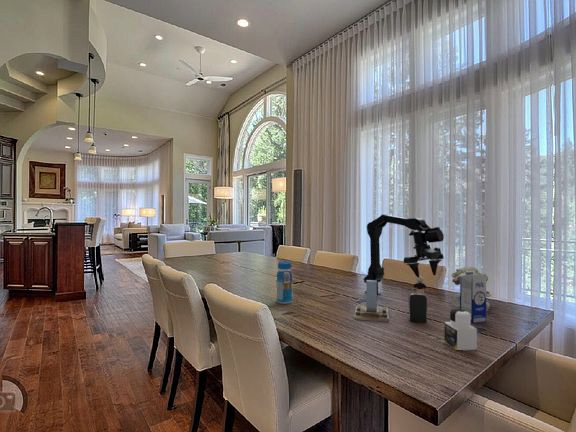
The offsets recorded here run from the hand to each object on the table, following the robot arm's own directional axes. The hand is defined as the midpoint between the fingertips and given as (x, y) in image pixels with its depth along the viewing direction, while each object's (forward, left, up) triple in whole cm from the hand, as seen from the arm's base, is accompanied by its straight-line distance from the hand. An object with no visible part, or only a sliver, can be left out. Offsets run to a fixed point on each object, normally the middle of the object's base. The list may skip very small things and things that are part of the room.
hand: (426, 276), depth 150 cm
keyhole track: (+4, -31, -14) cm, 35 cm away
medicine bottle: (+41, -19, -15) cm, 47 cm away
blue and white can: (-25, -64, -15) cm, 70 cm away
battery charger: (+16, -17, -15) cm, 27 cm away
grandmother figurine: (-9, +3, -15) cm, 18 cm away
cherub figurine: (+2, +23, -15) cm, 28 cm away
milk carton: (+21, +6, -15) cm, 26 cm away
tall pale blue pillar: (+2, -30, -13) cm, 33 cm away
